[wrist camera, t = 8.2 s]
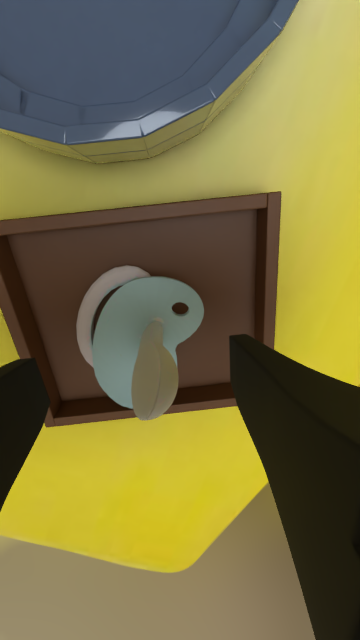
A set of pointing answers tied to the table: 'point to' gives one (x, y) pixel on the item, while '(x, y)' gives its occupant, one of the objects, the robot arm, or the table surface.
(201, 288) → the tray
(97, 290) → the pacifier
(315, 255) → the table surface
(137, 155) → the bowl
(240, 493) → the table surface
